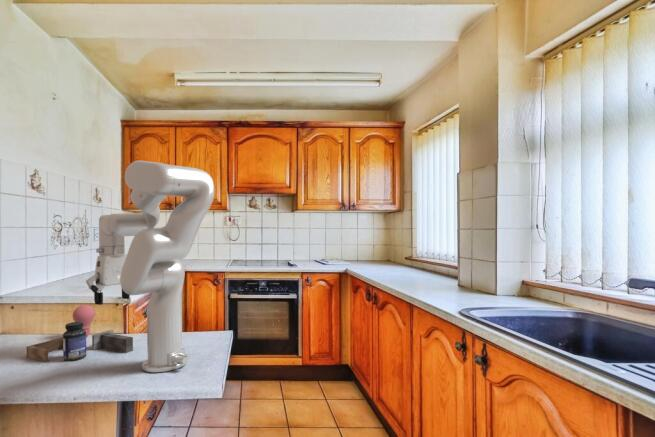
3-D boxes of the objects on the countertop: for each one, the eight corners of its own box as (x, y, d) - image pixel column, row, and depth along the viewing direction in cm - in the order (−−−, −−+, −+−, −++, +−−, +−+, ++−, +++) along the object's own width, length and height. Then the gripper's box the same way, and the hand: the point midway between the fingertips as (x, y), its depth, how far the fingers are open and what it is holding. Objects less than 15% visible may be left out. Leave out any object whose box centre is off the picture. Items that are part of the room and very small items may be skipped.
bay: (82, 350, 128) (82, 339, 129) (44, 361, 118) (44, 350, 118) (64, 346, 133) (64, 336, 133) (26, 357, 122) (26, 346, 122)
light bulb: (85, 339, 140) (84, 307, 140) (68, 339, 141) (67, 307, 142) (99, 334, 147) (99, 303, 147) (83, 333, 148) (82, 303, 149)
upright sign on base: (139, 348, 129) (138, 333, 129) (119, 355, 123) (119, 339, 123) (111, 343, 135) (111, 329, 135) (92, 349, 129) (92, 335, 129)
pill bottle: (90, 354, 124) (90, 320, 124) (76, 361, 118) (76, 325, 118) (73, 354, 124) (72, 320, 124) (58, 361, 118) (57, 325, 118)
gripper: (94, 253, 121) (94, 307, 120) (141, 249, 136) (142, 297, 136) (79, 252, 124) (80, 305, 124) (127, 249, 139) (128, 296, 139)
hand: (112, 301), depth 130 cm, fingers open, 9 cm apart
